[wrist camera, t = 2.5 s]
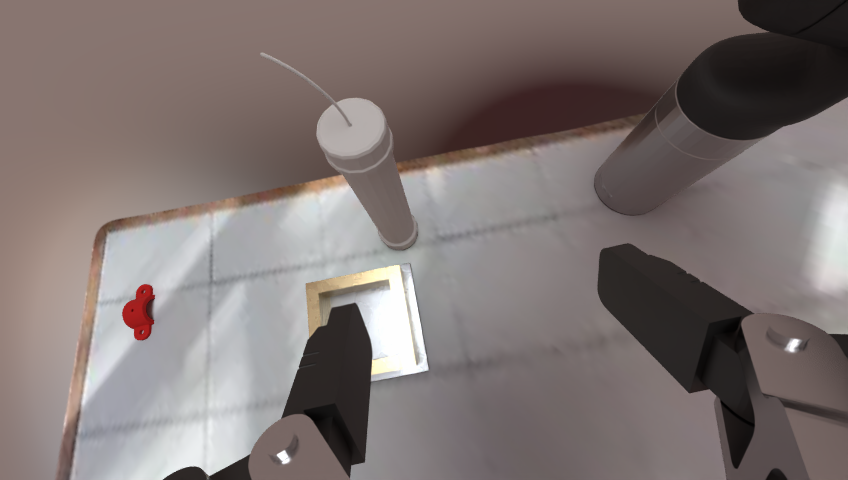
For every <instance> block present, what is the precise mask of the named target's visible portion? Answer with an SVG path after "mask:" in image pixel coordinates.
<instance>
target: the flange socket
mask: <svg viewBox="0 0 848 480" xmlns="http://www.w3.org/2000/svg"><path fill="white" fill-rule="evenodd" d="M306 295H307V310H308V324H309V338H310V337H311V335H312V334H313V333H314V332H315V330H316V329H317V328H318V327H320V326H325V325H327V322H328V318H329V315H330V311H331V309H332V308H333V307H337V306H342V305H346V304H351V303H356V304H357V305H358V307H359V309H360V312H361V315H362V318H363V320H364V323H365V326H366V328H367V331H368V334H369V336H370V340H371V344H372V353H373V358H372V372H371V382H372V381H377V380H382V379H387V378H393V377H398V376H403V375H408V374H413V373H418V372H423V371H428V370H429V366H428V360H427V355H426V349H425V344H424V338H423V333H422V327H421V322H420V316H419V310H418V305H417V299H416V294H415V288H414V283H413V277H412V272H411V266H410V263H406V264H401V265H395V266H390V267H385V268H380V269H375V270H370V271H365V272H360V273H355V274H351V275H346V276H341V277H336V278H331V279H326V280H321V281H316V282H311V283H306Z"/></svg>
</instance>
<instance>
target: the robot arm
mask: <svg viewBox="0 0 848 480" xmlns="http://www.w3.org/2000/svg"><path fill="white" fill-rule="evenodd" d="M738 6H739V11H740V13H741V14H742V16H743V18H744V19H745V20H747V21H748V22H750V23H752V24H753V25H755V26H758V27H760V28H762V29H764V30H766V31H769V32H766V33H756V34H747V35H740V36H736V37H731V38H728V39H725V40H722V41H719V42H718V43H715V44H714V45H712V46H710V47H709V48H707V49H706V50H705V51H703V52H702V53H701V54H700V55H699V56H698V57H697V58H696V59H695V60H694V61H693V62H692V63H691V64H690V66H689V67H688V68H687V69H686V70H685V71H684V72H683V74H682V75H681V76H680V77H679V78H678V79H677V80H676V81H675V83H674V84H673V85H672V86H671V87H670V88H669V89H668V91H667V92H666V93H665V94H664V95H663V96H662V98H661V99H660V100H659V101H658V102H657V103H656V104H655V105H654V107H653V108H652V109H651V110H650V111H649V112H648V113H647V115H646V116H645V117H644V118H643V119H642V120H641V121H640V123H639V124H638V125H637V126H636V127H635V128H634V129H633V130H632V132H631V133H630V134H629V135H628V136H627V137H626V138H625V140H624V141H623V142H622V143H621V144H620V145H619V146H618V147H617V149H616V150H615V151H614V152H613V153H612V154H611V155H610V157H609V158H608V159H607V160H606V161H605V162H604V164H603V165H602V166H601V167H600V168H599V169H598V171H597V173H596V176H595V188H596V192H597V194H598V196H599V198H600V199H601V200H602V201H603V202H604V203H605V204H606V205H607V206H608V207H609V208H611V209H613V210H615V211H617V212H620V213H622V214H628V215H639V214H644V213H646V212H649V211H651V210H652V209H654V208H656V207H657V206H659V205H660V204H662V203H663V202H665V201H667V200H668V199H670V198H671V197H673V196H675V195H676V194H678V193H679V192H681V191H682V190H684V189H686V188H687V187H689V186H690V185H692V184H693V183H695V182H697V181H698V180H700V179H701V178H703V177H704V176H706V175H708V174H709V173H711V172H712V171H714V170H715V169H717V168H719V167H720V166H722V165H723V164H725V163H726V162H728V161H730V160H731V159H733V158H734V157H736V156H737V155H739V154H741V153H742V152H744V151H745V150H747V149H748V148H750V147H751V146H753V145H754V144H756V143H758V142H759V141H761V140H762V139H764V138H765V137H767V136H769V135H770V134H772V133H773V132H775V131H777V130H778V129H780V128H782V127H783V126H787V125H791V124H795V123H798V122H801V121H804V120H806V119H808V118H811V117H813V116H815V115H817V114H819V113H820V112H822V111H824V110H826V109H827V108H829V107H831V106H833V105H834V104H836V103H838V102H840V101H842V100H843V99H845V98H847V97H848V0H738ZM598 294H599V298H600V300H601V302H602V304H603V305H604V306H605V307H606V309H607V310H608V311H609V312H610V313H611V314H612V315H613V316H614V317H615V318H616V319H617V320H618V321H619V322H620V323H621V324H622V325H623V326H624V327H625V328H626V329H627V330H628V331H629V332H630V333H631V334H632V335H633V336H634V337H635V338H636V339H637V340H638V341H639V342H640V343H641V344H642V345H643V346H644V347H645V348H646V350H647V351H648V352H649V353H650V354H651V355H652V356H653V357H654V358H655V359H656V360H657V361H658V362H659V363H660V364H661V365H662V366H663V367H664V368H665V369H666V370H667V371H668V372H669V373H670V374H671V375H672V376H673V377H674V378H675V379H676V380H677V381H678V382H679V383H680V384H681V385H682V386H683V387H684V388H685V389H686V390H687V391H688V393H693V392H698V391H703V390H707V389H710V390H711V391H712V392H713V393H714V394H715V395H716V398H715V401H714V408H715V414H716V420H717V426H718V431H719V437H720V443H721V449H722V455H723V461H724V467H725V473H726V480H848V335H847V334H827V333H826V332H825V331H823V330H821V329H820V328H818V327H816V326H814V325H812V324H810V323H807V322H805V321H802V320H799V319H796V318H793V317H789V316H784V315H779V314H771V313H758V314H754V313H752V312H751V311H749V310H748V309H746V308H744V307H743V306H741V305H739V304H738V303H736V302H735V301H733V300H731V299H730V298H728V297H727V296H725V295H723V294H722V293H720V292H718V291H717V290H715V289H714V288H712V287H710V286H709V285H707V284H706V283H704V282H700V280H699V279H698V278H696V277H694V276H693V275H691V274H687V273H686V271H685V270H683V269H681V268H680V267H678V266H677V265H675V264H673V263H672V262H670V261H667V260H664V259H661V258H658V257H655V256H653V255H647V254H646V253H644V252H643V251H641V250H640V249H638V248H637V247H635V246H633V245H632V244H628V243H627V244H622V245H618V246H613V247H609V248H604V249H602V250H601V252H600V258H599V273H598ZM372 358H373V353H372V344H371V340H370V336H369V334H368V331H367V328H366V326H365V323H364V320H363V318H362V315H361V312H360V309H359V307H358V305H357V304H356V303H351V304H346V305H342V306H337V307H333V308H332V309H331V311H330V315H329V318H328V322H327V325H325V326H320V327H318V328H317V329H316V330H315V332H314V333H313V334H312V335H311V337H310V338H309V339H308V341H307V344H306V347H305V350H304V353H303V357H302V359H301V362H300V365H299V369H298V370H297V373H296V376H295V379H294V382H293V385H292V388H291V391H290V394H289V397H288V400H287V403H286V406H285V409H284V412H283V415H282V418H281V419H280V420H278V421H277V422H275V423H274V424H273V425H271V426H270V427H269V428H268V429H267V430H266V431H265V432H264V433H263V434H262V435H261V436H260V438H259V439H258V440H257V442H256V444H255V445H254V447H253V449H252V451H251V454H250V455H248V456H246V457H245V458H243V459H241V460H239V461H237V462H235V463H233V464H232V465H230V466H228V467H226V468H224V469H222V470H220V471H218V472H216V473H215V474H213V475H211V476H208V475H207V474H206V473H205V472H204V471H203V470H202V469H201V468H199V467H186V468H183V469H180V470H178V471H176V472H174V473H172V474H170V475H169V476H167V477H166V478H164V479H163V480H350V472H351V465H354V464H359V463H364V462H365V453H366V440H367V426H368V412H369V399H370V385H371V372H372Z"/></svg>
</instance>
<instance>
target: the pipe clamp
mask: <svg viewBox="0 0 848 480" xmlns="http://www.w3.org/2000/svg"><path fill="white" fill-rule="evenodd" d="M144 291H145V293H144ZM151 299H155V295H153V288H152V286H151V285H147V284H144V285H141V286H140V287H139V288H138V289H137V292H136V299H135V300H131V301H129V302H128V303H127V304H126V305H125V306H124V308H123V312H122V316H123V320H124V322H125V324H126V325H127V326H129V327H130V328H132V329H134V337H135V339H137V340H145V339H147V338H148V337H149V336H150V334H151V328H152V324H154V320H152V319H151V318H150V317H149V316H148V315H147V312H146V305H147V303H148V302H149V301H150V300H151ZM143 330H144V333H143V334H142V331H143Z"/></svg>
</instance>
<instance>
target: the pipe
mask: <svg viewBox="0 0 848 480" xmlns="http://www.w3.org/2000/svg"><path fill="white" fill-rule="evenodd" d="M260 55H261V56H262V57H264V58H267V59H269V60H271V61H273V62H275V63H277V64H279V65H281V66H283V67H285V68H286V69H288V70H290V71H292V72H293V73H295V74H297V75H298V76H300V77H301V78H303V79H304V80H306V81H307V82H308V83H310V84H311V85H312V86H314V87H315V88H316V89H317V90H319V91H320V92H321V93H322V94H323V95H324V96H325V97H326V98H327V99H328V100H329V101H330V102H331V103H332V105H331V106H330V107H329V108H328V109H327V110H326V111H325V112H323V114H322V116H321V118H320V119H319V121H318V124H317V139H318V142H319V144H320V146H321V149H322V150H323V151H324V153H325V155H326V158H327V160H328V162H329V164H330V165H331V166H332V167H333V168H334V169H336V170H337V171H338V172H339V173H342V174H343V176H344V177H345V179H346V180H347V182H348V183H349V185H350V186H351V188H352V190H353V191H354V193H355V194H356V196H357V197H358V199H359V200H360V202H361V204H362V205H363V207H364V208H365V210H366V211H367V213H368V214H369V216H370V217H371V219H372V221H373V222H374V224H375V225H376V227H377V228H378V234H379V236H380V238H381V240H382V241H383V242H384V243H385V244H386V245H387V246H388V247H390V248H392V249H395V250H404V249H406V248H408V247H410V246H411V245H412V244H413V243H414V242H415V240H416V238H417V222H416V220H415V218H414V216H413V215H411V212H410V209H409V206H408V203H407V199H406V196H405V193H404V189H403V186H402V183H401V180H400V176H399V173H398V170H397V166H396V163H395V160H394V157H393V153H392V151H393V135H392V133H391V131H390V129H389V127H388V124H387V121H386V118H385V116H384V114H383V112H382V110H381V109H380V108H379V107H377V106H376V105H375V104H374V103H372V102H371V101H369V100H365V99H361V98H350V99H344V100H341V101H339V102H337V103H336V102H335V101H334V100H333V99H332V98H331V97H330V96H329V95H328V94H327V93H326V92H324V91H323V90H322V89H321V88H320V87H319V86H317V85H316V84H315V83H314V82H312V81H311V80H310V79H308V78H307V77H305V76H304V75H303V74H301V73H300V72H298V71H297V70H295V69H293V68H292V67H290V66H288V65H286V64H284V63H283V62H281V61H279V60H277V59H275V58H273V57H271V56H269V55H267V54H264V53H262V52H261V54H260Z"/></svg>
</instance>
